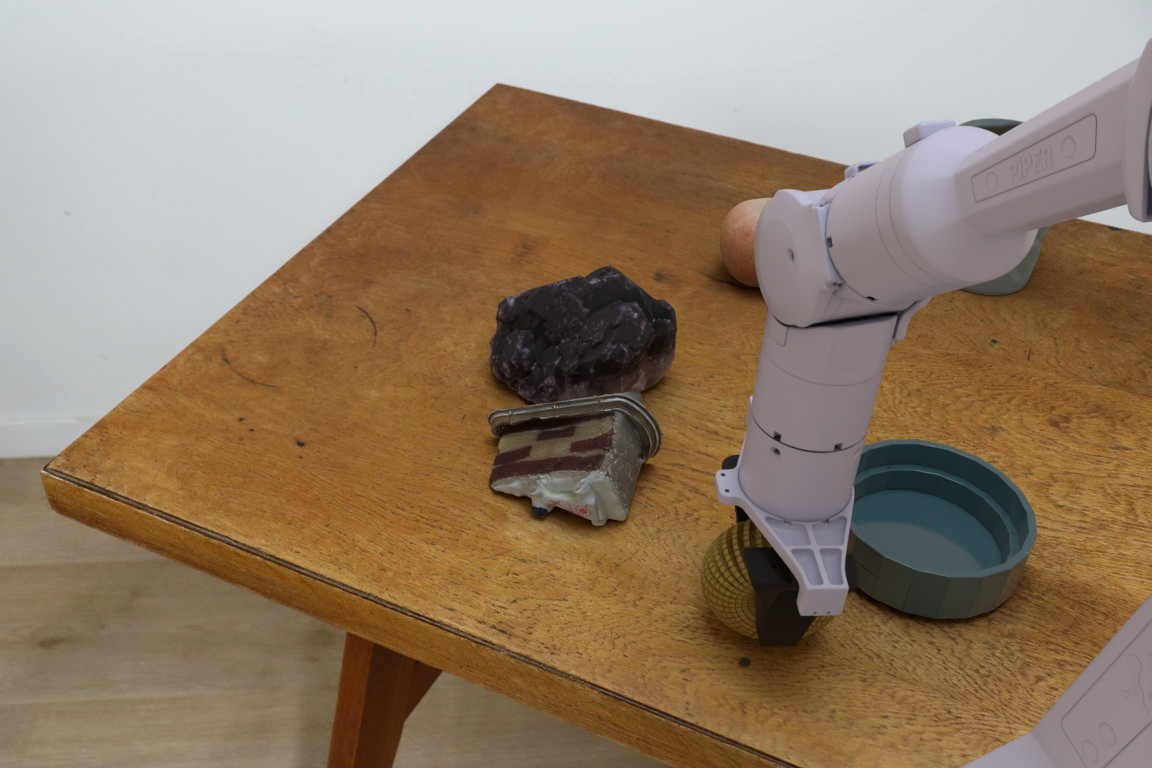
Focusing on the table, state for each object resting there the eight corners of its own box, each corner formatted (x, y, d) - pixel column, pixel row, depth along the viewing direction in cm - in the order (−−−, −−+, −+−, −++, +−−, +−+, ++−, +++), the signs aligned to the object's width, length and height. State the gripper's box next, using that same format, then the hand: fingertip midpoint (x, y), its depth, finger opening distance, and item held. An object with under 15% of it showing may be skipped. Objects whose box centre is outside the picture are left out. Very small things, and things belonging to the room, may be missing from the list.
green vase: (924, 291, 94) (960, 160, 87) (913, 233, 102) (946, 110, 95) (1047, 306, 93) (1094, 175, 86) (1027, 246, 101) (1068, 123, 94)
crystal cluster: (487, 325, 88) (476, 219, 81) (656, 309, 89) (658, 203, 82) (496, 443, 78) (483, 334, 71) (686, 425, 79) (691, 315, 72)
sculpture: (831, 611, 65) (859, 512, 60) (834, 666, 62) (863, 566, 57) (695, 591, 65) (711, 491, 61) (690, 644, 62) (707, 543, 57)
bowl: (1048, 623, 65) (1070, 575, 62) (847, 626, 64) (861, 578, 61) (977, 484, 74) (993, 438, 72) (801, 485, 73) (812, 439, 71)
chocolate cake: (446, 504, 71) (570, 453, 63) (477, 416, 75) (596, 357, 67) (554, 572, 75) (683, 533, 67) (578, 485, 79) (702, 438, 71)
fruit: (722, 249, 98) (734, 166, 93) (805, 264, 96) (822, 181, 92) (706, 293, 92) (718, 207, 87) (795, 309, 91) (812, 223, 86)
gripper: (705, 330, 60) (679, 514, 68) (756, 520, 48) (717, 713, 56) (834, 331, 60) (793, 513, 68) (915, 518, 49) (853, 710, 57)
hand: (767, 603), depth 62 cm, fingers closed on sculpture, 5 cm apart
